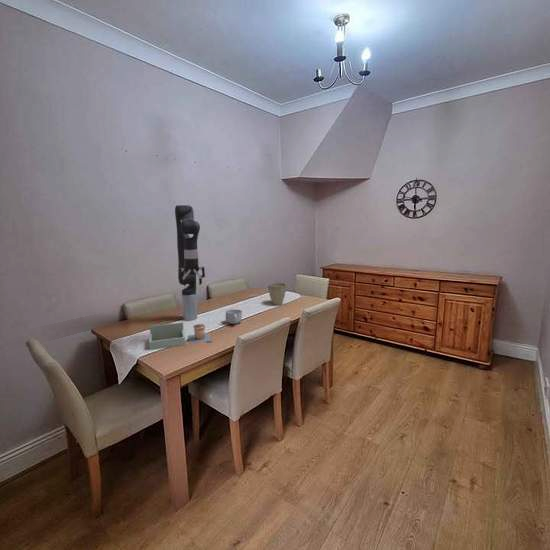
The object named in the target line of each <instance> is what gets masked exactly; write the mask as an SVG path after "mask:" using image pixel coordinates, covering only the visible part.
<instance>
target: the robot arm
mask: <svg viewBox="0 0 550 550" xmlns="http://www.w3.org/2000/svg"><path fill="white" fill-rule="evenodd" d="M174 214H175V216H174V217H175V224H176V225H175V226H176V244H177V245H176V247H177V259H178V262H177V263H178V268H177V269H178V271H177V278H178V283H179V284H180V285H181V286H184V287H185V288H183V289H182V290H181V300H182V301H181V303H182V316H183V317H182V319H183V320H184V321H193V320H196V319H198V303H197V277H198V281H199V282H198V284H199V286H201V285H202V284H203V279H204V278H206V272H205V267H204V266H200V267H199V251H198V238H199V234H200V229H201V224H200V223H199V222H198V221H195V220H194V219H195V218H194V215H195V214H194V208H193V207H192V206H191V205H188V204H187V205H179V204H178V205H176V206H175V207H174ZM190 235H192V236H191V237H190ZM199 271H201V274H200V273H199ZM186 285H188V286H186Z"/></svg>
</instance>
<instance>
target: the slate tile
mask: <svg viewBox="0 0 550 550" xmlns="http://www.w3.org/2000/svg"><path fill="white" fill-rule="evenodd" d="M187 339H188V343H189V344H196V343H197V344H198V343H203V342H206V343H207V344H208V343H213V341H212V337H211V335H210V333H209V332H205V338H204V339H202V340H196V339H195V336H194V334H189V335H187Z"/></svg>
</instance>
